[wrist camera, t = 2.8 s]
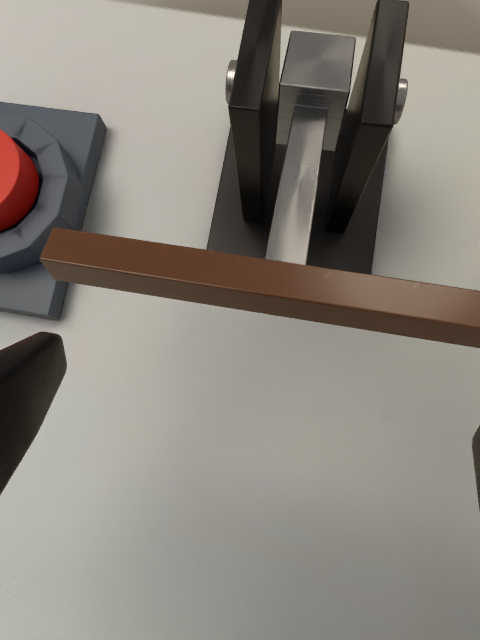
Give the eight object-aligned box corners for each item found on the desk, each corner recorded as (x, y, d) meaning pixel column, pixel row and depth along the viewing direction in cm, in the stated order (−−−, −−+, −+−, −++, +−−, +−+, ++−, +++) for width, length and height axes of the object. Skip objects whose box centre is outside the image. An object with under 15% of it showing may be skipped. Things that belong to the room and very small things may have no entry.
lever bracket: (364, 290, 22) (438, 206, 13) (207, 266, 23) (164, 169, 13) (385, 128, 24) (466, -58, 14) (237, 110, 25) (218, -79, 15)
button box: (63, 321, 23) (33, 309, 20) (-72, 298, 24) (-120, 283, 21) (111, 127, 25) (90, 90, 22) (-16, 111, 25) (-53, 73, 23)
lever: (508, 364, 12) (563, 327, 10) (62, 291, 14) (27, 244, 11) (488, 116, 17) (524, 53, 15) (150, 77, 18) (137, 13, 16)
